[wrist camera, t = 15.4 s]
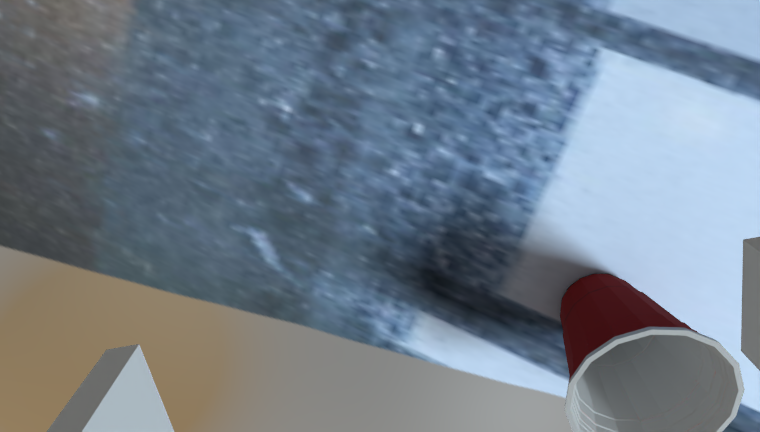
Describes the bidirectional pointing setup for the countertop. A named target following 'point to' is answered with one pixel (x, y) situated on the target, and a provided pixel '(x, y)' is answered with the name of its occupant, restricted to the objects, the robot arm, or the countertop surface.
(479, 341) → the countertop surface
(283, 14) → the countertop surface
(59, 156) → the countertop surface
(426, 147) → the countertop surface
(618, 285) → the plastic cup
